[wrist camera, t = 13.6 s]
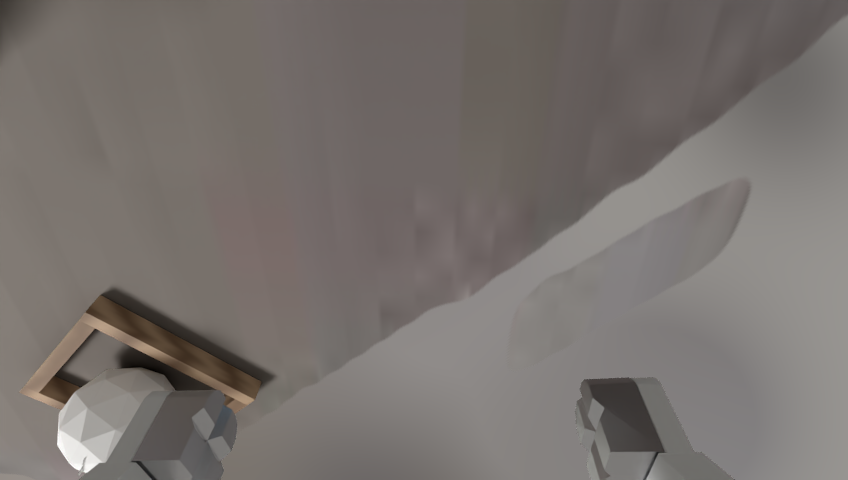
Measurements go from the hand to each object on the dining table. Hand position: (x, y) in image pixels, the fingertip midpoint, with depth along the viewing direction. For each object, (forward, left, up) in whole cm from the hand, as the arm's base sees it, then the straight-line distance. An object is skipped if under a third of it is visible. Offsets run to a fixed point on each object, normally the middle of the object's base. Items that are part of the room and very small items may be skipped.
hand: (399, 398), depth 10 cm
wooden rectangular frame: (+5, -62, -34) cm, 71 cm away
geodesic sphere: (+5, -62, -34) cm, 71 cm away
